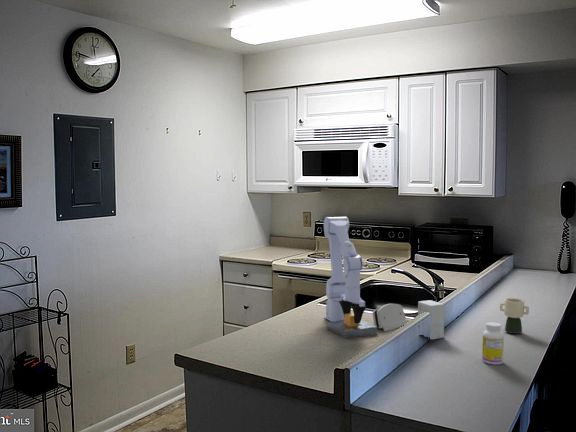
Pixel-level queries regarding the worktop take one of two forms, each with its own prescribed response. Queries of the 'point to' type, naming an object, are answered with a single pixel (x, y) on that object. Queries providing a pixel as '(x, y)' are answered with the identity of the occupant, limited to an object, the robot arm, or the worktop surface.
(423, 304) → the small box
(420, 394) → the worktop surface
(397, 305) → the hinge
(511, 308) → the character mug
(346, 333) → the grey square-hole board
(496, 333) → the supplement bottle
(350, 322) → the block
